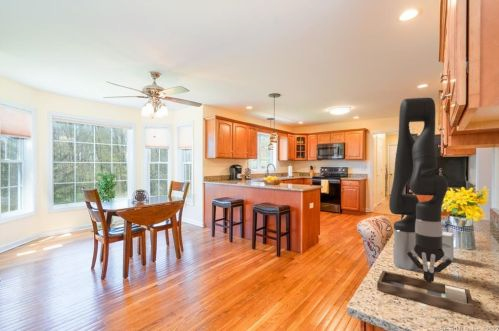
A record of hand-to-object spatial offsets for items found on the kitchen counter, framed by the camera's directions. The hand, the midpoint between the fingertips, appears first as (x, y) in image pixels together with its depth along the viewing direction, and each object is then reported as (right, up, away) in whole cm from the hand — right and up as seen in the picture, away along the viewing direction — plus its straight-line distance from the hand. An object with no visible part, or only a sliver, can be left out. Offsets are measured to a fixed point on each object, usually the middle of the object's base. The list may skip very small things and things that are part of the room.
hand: (428, 281), depth 84 cm
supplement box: (+33, -6, +35) cm, 48 cm away
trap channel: (-2, -6, +1) cm, 6 cm away
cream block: (+5, -5, -5) cm, 9 cm away
